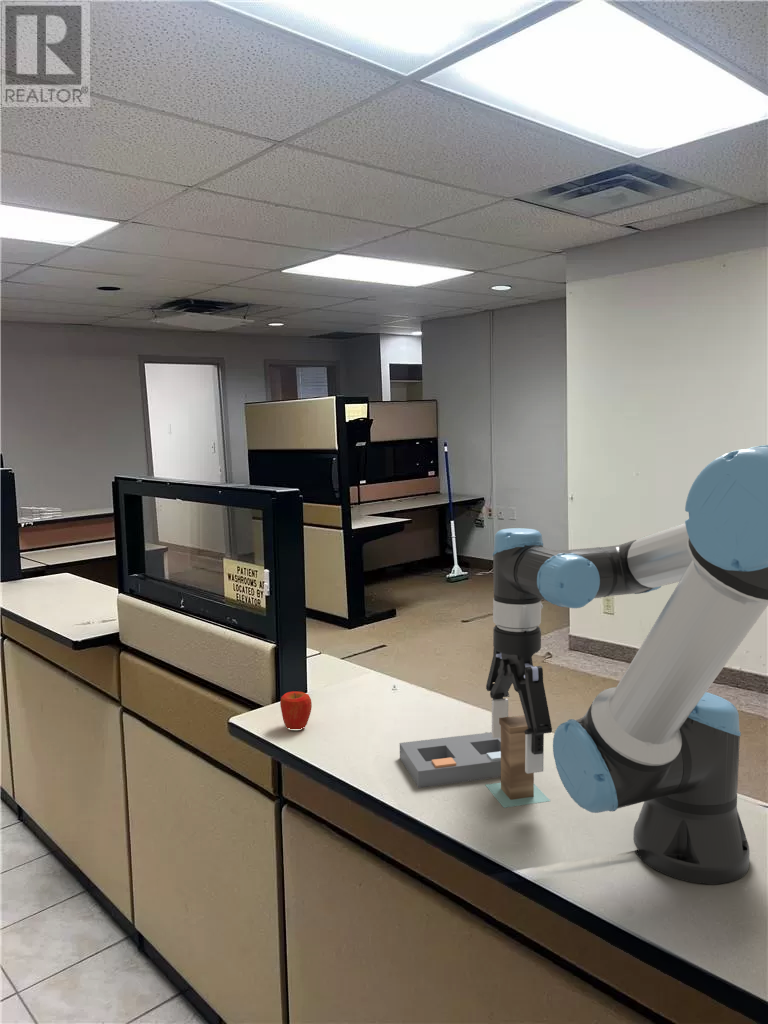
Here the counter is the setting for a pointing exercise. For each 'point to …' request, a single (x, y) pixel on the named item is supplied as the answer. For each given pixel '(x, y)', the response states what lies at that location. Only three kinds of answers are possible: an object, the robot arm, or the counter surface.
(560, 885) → the counter surface
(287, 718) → the apple
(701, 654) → the robot arm
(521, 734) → the plug
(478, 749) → the port box
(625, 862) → the counter surface
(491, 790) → the plate
